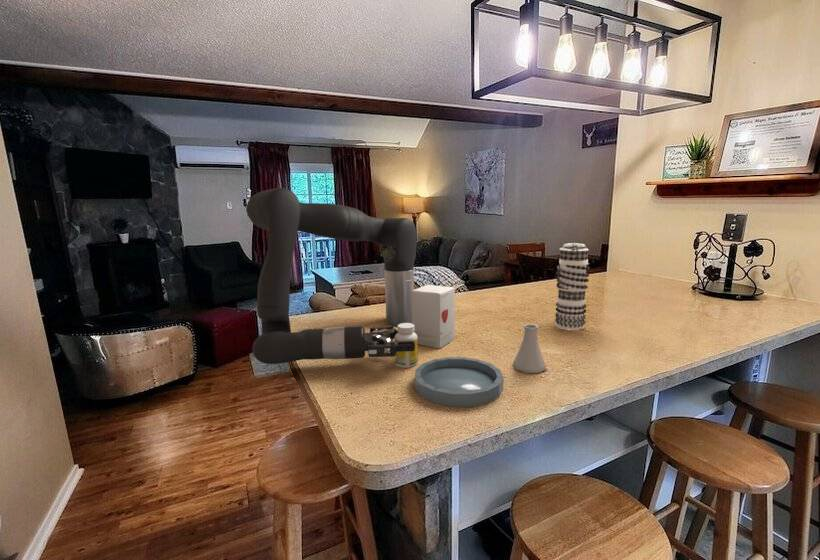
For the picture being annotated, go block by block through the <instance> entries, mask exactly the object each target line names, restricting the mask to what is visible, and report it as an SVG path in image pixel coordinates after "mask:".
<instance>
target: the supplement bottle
mask: <svg viewBox="0 0 820 560" xmlns="http://www.w3.org/2000/svg"><path fill="white" fill-rule="evenodd" d="M396 326H397V327H396V330H398V333H397V334H396V335H395V339H394V341H397V342H398V341H414V342H415V350H414V351H404V352H399V351H398V353H396V356H394V358H395V359H394V361H395V362H394V363H395V365H396V366H397V367H398V368H403V369H407V368H409V369H410V368H413V367H416V366H417V365H418V357H419V356H418V344H417V335H416V333H414V330H415V327H414V324H411V323H401V324H399V325H396Z"/></svg>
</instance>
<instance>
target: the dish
mask: <svg viewBox="0 0 820 560" xmlns="http://www.w3.org/2000/svg"><path fill="white" fill-rule="evenodd" d="M414 389H415V391H416V392H417V393H418V395H419V396H420V397H421V398H423V399H425V400H427V401H429V402H432V404H437V405H442V406H447V407H451V408H452V407H453V408H454V407H455V408H462V407H463V408H471V407H472V408H473V407H477V406H482V405H487V404H489V403H491V402H492V401H494V400H496V399H498V398H499V397H500V396H501V394H502V392H503V390H504V375H503V373H502V371H501V369H500V368H498V367H496V366H495V365H494V364H492V363H490V362H489V361H488V362H487V361H485V360H483V359H482V360H481V359H478V358H471V357H466V356H464V357H463V356H447V357H442V358H441V357H440V358H439V357H438V358H433V359H431V360H428V361H426V362H423V363H421V364H420V365H419V366H418V367H417V368H415V370H414Z"/></svg>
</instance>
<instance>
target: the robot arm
mask: <svg viewBox="0 0 820 560" xmlns="http://www.w3.org/2000/svg"><path fill="white" fill-rule="evenodd" d="M245 211H246V215H247V217H248V219H249V221H251V223H252V224H253V225H255V226H256V227H258V228H259V229H262V230H265V231H268V249H267V253H266V256H265V260H264V263H263V265H262V268H261V270H260V274H259V278H258V284H257V293H256V294H257V298H256V299H257V301H256V302H257V303H256V305H257V307H256V310H257V311H256V312H257V317H258V318H259V319H260V321H261V334H260V335H259V336H258V337H257V338H255V340H254V342H253V344H252V347H251V348H252V349H251V350H252V354H253V357H254V358H255V359H256V360H257V361H258V362H260V363H262V364H265V365H266V364H268V365H276V364H277V365H279V364H283V363H291V362H295V361H296V362H297V361H303V360H348V359H349V360H351V359H353V360H354V359H365V357H366V352H367V353H368V358H388V357H389V358H391V357H393V358H395V356H396V353H398V351H399V352H404V351H414V350H415V342H414V341H398V342H397V341H395V335H396V334H397V333H398V330H397V328H395V327H394V326H398V325H399V324H401V323H411V324H412V290H415V275H414V274H415V273H414V270H415V269H414V266H415V262H416V259H417V258H416V257H417V255H416V254H417V249H416V248H417V231H416V228H417V227H416V225H415V223H414V221H413V220H412V219H411V218H407V217H386V218H385V217H373V216H369V215H368V214H365V213H364V212H363V211H362V210H359V209H357V208H355V207H351V206H348V205H347V206H346V205H342V204H335V203H322V202H321V203H319V202H317V203H315V202H314V203H311V202H310V203H309V202H308V203H307V202H300V200H299V198H298V196H297V195H296V194H295V193H294V192H293V191H292V190H291V189H289V188H286V187H276V188H271V189H266V190H262V191H259V192H257V193H255V194H253V196H251V197H250V198H249V200H248V201H247V204H246V210H245ZM298 232H301V233H305V234H306V233H307V234H311V235H314V236H318V237H319V236H320V237H323V238H327V239H333V240H339V241H347V242H361V241H367V242H371V243H374V244H378V245H381V246H384V247H386V248H394V254H393V256H392V257H390V258H388V259H386V260H384V263H383V264H384V265H383V267H384V288H385V289H384V291H385V293H384V294H385V295H384V296H385V319H386V320H385V321H386V324H388V325H390V326H377V327H374V326H373V327H369V332H365V331H366V330H365V326H363V325H350V326H347V325H346V326H332V327H326V328H310V329H309V328H308V329H303V330H300V331H296V332H295V331H294V332H292V329H291V321H290V315H289V313H290V312H289V311H290V293H291V292H290V290H291V286H290V283H291V273H292V265H293V259H294V252H295V246H296V240H297V235H298Z"/></svg>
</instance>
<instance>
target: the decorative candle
mask: <svg viewBox="0 0 820 560" xmlns="http://www.w3.org/2000/svg"><path fill="white" fill-rule="evenodd" d="M559 251H560V252H559V259H558V260H559V261H558V263H559V264H558V265H557V266H556V270H557V271H556V276H557V278H556V282H557V283H556V284H555V285H556V289H557V290H558V295H557V299H556V300H557V301H556V303H555V306H556V307H555V311H556V312H555V314H554V316H555V318H554V322H555V324H554V326H555V327H556V326H557V327H556V328H558V327H559V328H558V329H560V328H562V329H561V330H564V329H570V330H569V331H572V330H575V331H580V330H579V329H583V328H586V327H585V324H586V318H587V316H586V313H587V310H586V308H587V304H586V291H588V288H589V286H588V285H587V284H586V283H588V282H589V281H590V280H589V279H588V277H590V274H589V273H588V272H587V271H589V270H591V267H590V266H589V265H591V263H590V262H589V258H588V255H589V254H588V253H589V251H590V249H589V248H588V247H587V246H586V244H584V243H579V242H567V243H564V244H563V245H562V247H560V248H559ZM583 330H584V329H583Z"/></svg>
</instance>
